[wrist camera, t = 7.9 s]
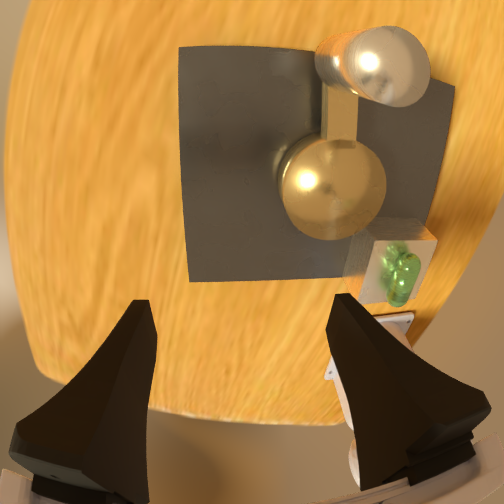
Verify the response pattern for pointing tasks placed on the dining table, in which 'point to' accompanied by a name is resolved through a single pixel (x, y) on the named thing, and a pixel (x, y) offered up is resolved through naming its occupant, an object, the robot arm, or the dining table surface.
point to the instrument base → (267, 168)
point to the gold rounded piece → (349, 130)
